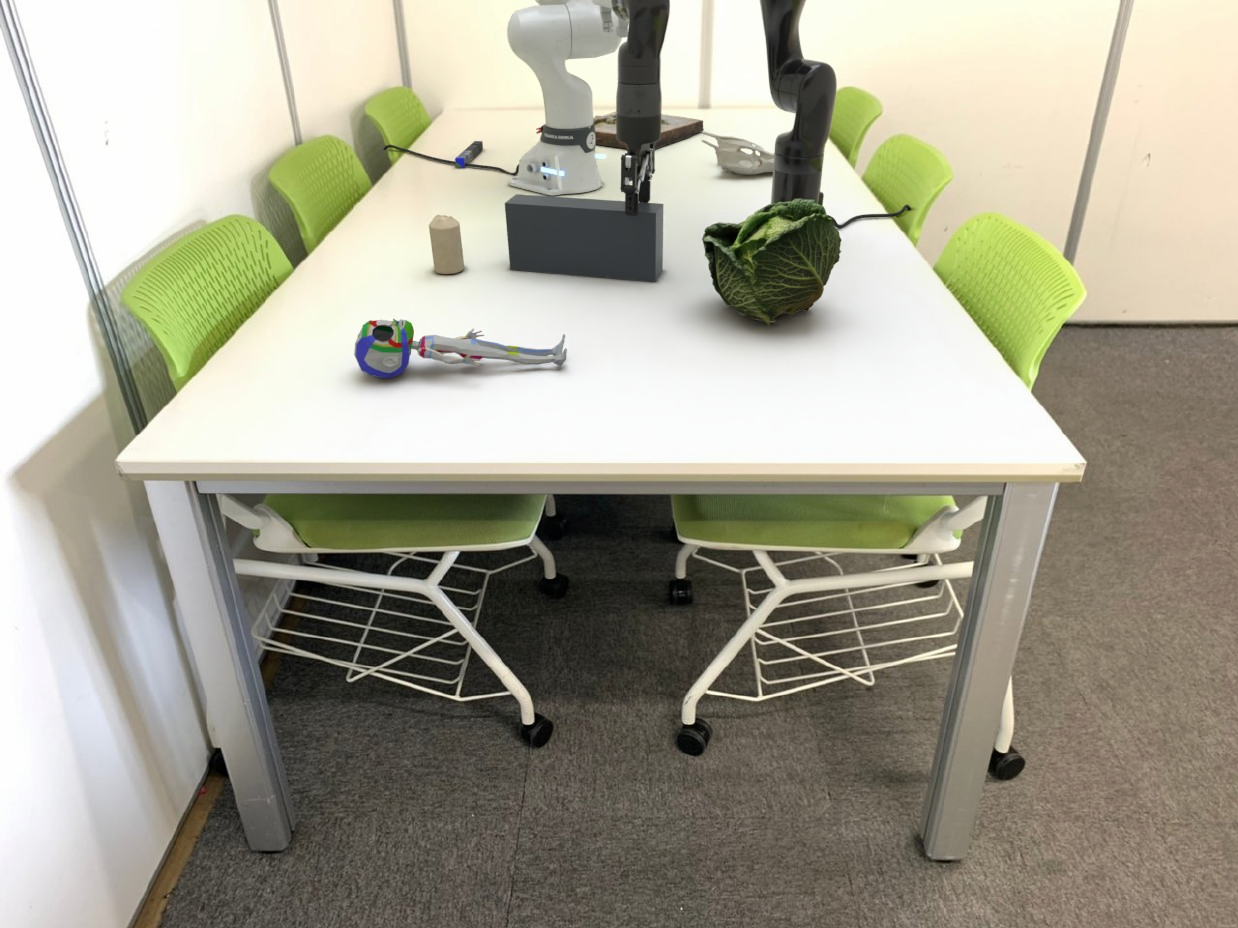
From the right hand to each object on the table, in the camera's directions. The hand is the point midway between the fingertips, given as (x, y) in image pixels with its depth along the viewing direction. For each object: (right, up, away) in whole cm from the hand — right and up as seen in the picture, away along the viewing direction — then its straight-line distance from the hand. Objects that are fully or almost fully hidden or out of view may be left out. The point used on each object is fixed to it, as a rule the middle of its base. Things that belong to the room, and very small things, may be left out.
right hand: (638, 208), depth 157 cm
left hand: (-4, +37, +14) cm, 40 cm away
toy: (-26, -31, -25) cm, 48 cm away
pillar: (-43, +37, +82) cm, 100 cm away
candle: (-35, -9, +10) cm, 37 cm away
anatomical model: (+30, +28, +66) cm, 77 cm away
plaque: (+1, +50, +102) cm, 114 cm away
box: (-10, -9, +9) cm, 16 cm away
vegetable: (+21, -20, -9) cm, 31 cm away
